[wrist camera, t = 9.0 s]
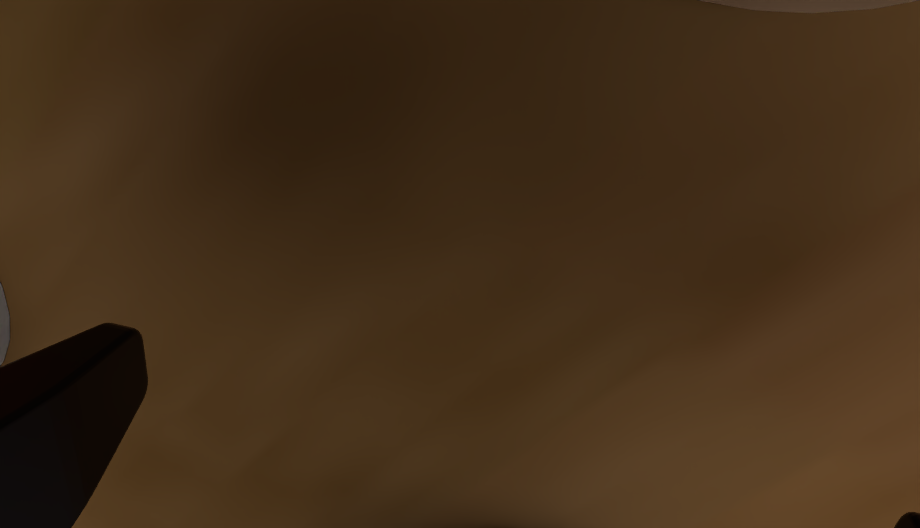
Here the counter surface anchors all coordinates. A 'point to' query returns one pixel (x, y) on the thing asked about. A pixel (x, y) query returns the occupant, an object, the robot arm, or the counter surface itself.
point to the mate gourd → (4, 325)
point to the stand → (808, 5)
